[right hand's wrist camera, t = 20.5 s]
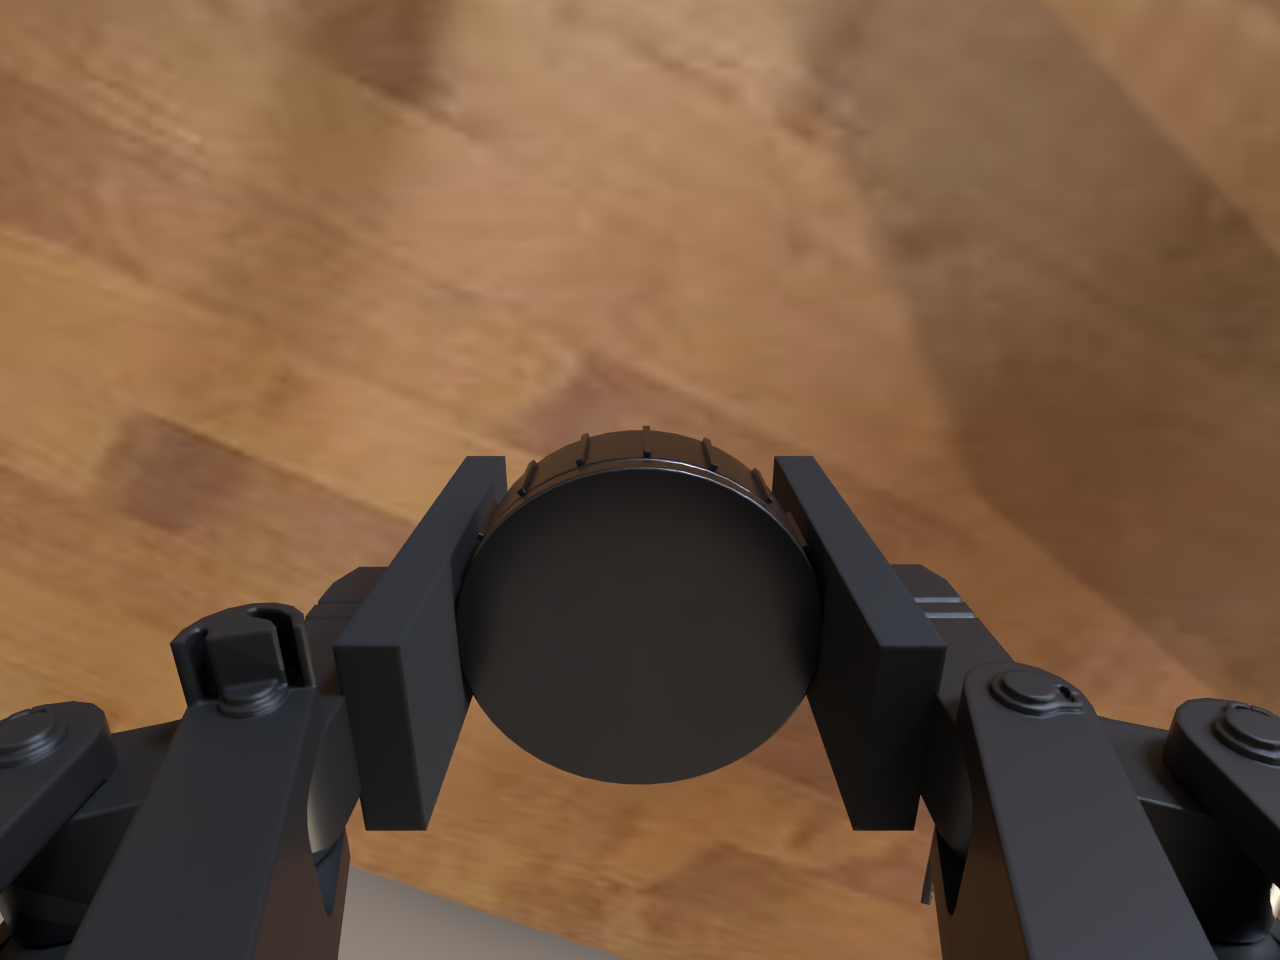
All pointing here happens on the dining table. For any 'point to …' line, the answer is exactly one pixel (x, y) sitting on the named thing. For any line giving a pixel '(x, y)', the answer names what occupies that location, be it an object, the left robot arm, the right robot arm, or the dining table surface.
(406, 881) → the dining table surface
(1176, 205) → the dining table surface
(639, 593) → the lid
